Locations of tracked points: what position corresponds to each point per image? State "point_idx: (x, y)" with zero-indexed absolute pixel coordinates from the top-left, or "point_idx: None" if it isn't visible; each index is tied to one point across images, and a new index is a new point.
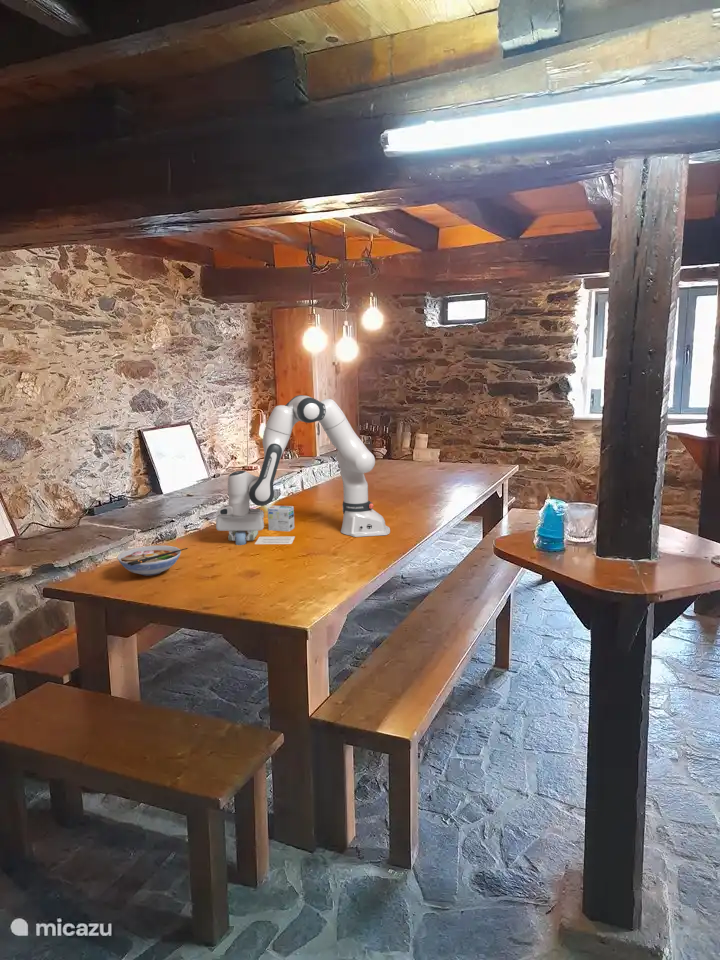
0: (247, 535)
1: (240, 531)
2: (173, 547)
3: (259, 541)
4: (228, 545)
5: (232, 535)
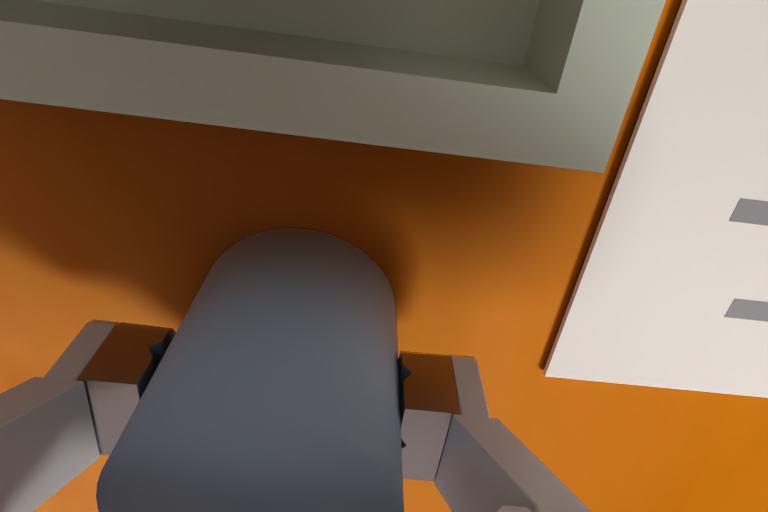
0: (427, 149)
1: (218, 413)
2: None
3: (670, 233)
4: None
5: (65, 483)
